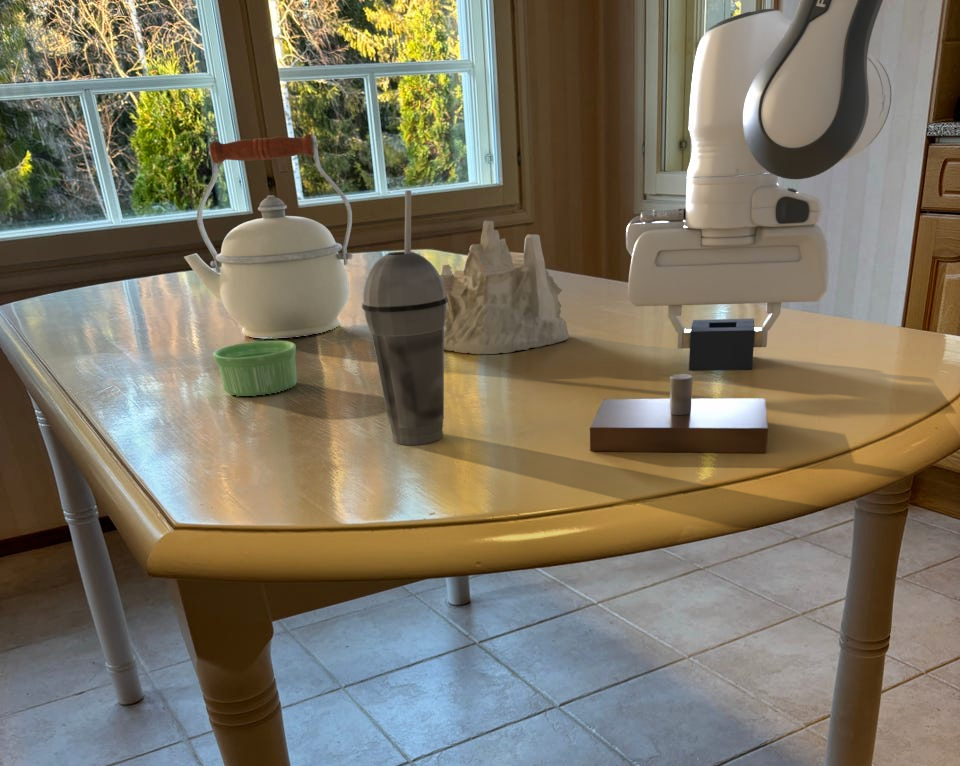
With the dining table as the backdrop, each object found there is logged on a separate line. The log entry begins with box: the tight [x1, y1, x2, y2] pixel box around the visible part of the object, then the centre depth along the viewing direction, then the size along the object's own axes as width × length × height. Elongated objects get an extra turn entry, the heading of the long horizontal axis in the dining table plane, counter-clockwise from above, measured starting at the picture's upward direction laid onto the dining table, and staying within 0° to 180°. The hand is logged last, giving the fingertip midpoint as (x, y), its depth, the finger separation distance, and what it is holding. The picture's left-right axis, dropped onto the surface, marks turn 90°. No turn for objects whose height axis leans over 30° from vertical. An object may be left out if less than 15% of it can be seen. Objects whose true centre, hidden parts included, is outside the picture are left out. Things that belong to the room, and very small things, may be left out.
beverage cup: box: [361, 190, 448, 446], centre depth 79 cm, size 7×7×20 cm
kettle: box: [183, 133, 353, 338], centre depth 130 cm, size 25×18×25 cm
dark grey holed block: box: [688, 318, 756, 371], centre depth 100 cm, size 6×6×4 cm
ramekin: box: [212, 340, 298, 397], centre depth 103 cm, size 9×9×4 cm
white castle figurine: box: [439, 220, 570, 356], centre depth 116 cm, size 16×16×15 cm
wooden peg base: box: [589, 373, 769, 454], centre depth 78 cm, size 14×9×5 cm, turn 76°
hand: (721, 347), depth 100 cm, fingers closed on dark grey holed block, 6 cm apart
